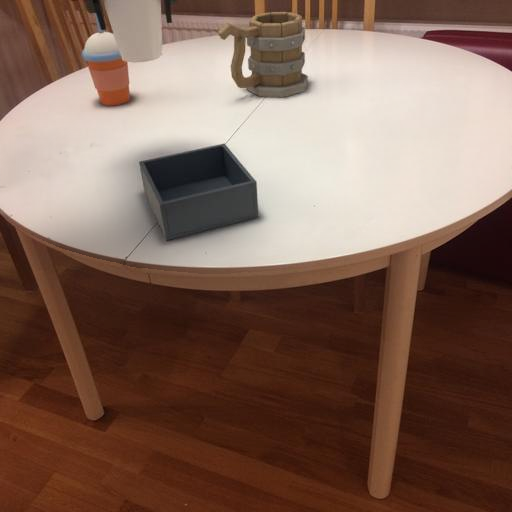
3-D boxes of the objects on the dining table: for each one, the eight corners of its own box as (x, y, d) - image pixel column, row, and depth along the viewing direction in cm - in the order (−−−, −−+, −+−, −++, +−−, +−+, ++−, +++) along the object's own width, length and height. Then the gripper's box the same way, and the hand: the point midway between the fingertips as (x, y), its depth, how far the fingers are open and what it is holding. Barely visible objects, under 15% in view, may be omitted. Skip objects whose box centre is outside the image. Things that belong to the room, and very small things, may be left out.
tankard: (283, 72, 121) (282, 2, 112) (318, 87, 112) (320, 12, 103) (208, 93, 113) (200, 18, 103) (239, 111, 104) (233, 31, 95)
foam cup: (142, 44, 87) (126, -45, 79) (184, 51, 82) (172, -43, 75) (98, 60, 81) (77, -35, 73) (141, 69, 76) (123, -32, 68)
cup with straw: (96, 94, 115) (76, 6, 104) (138, 91, 116) (122, 2, 105) (91, 110, 108) (68, 16, 97) (135, 106, 108) (117, 13, 98)
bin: (166, 240, 69) (159, 204, 66) (145, 194, 79) (138, 161, 76) (258, 217, 73) (256, 181, 70) (227, 175, 83) (224, 143, 79)
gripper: (15, -63, 57) (65, 48, 79) (215, -79, 60) (210, 33, 82) (7, -124, 58) (59, 3, 80) (204, -136, 61) (201, -11, 83)
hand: (135, 18), depth 81 cm, fingers closed on foam cup, 9 cm apart
